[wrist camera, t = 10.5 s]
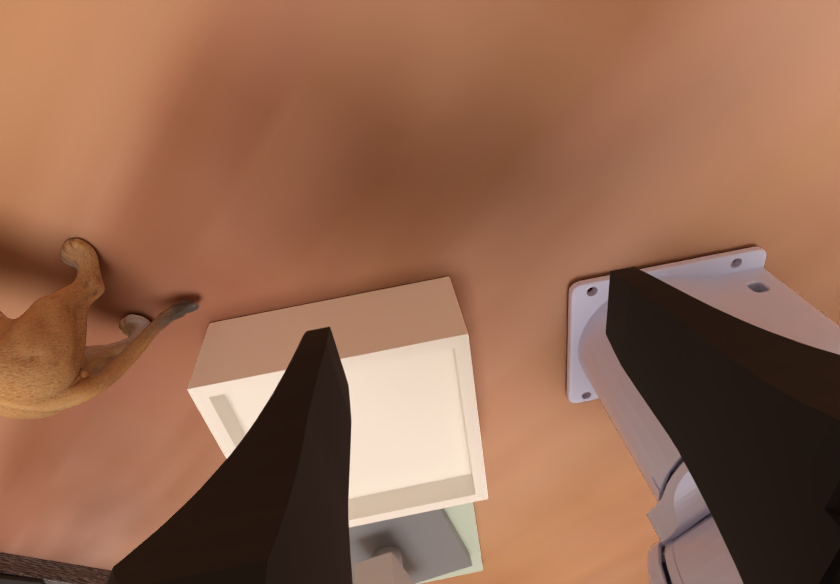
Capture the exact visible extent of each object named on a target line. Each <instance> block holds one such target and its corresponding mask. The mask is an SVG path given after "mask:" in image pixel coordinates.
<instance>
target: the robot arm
mask: <svg viewBox="0 0 840 584" xmlns="http://www.w3.org/2000/svg"><path fill="white" fill-rule="evenodd" d="M766 256H767V253H766V251H765V250H763V249H762V248H760V247H750V248H745V249H740V250H735V251H730V252H725V253H719V254H714V255H709V256H704V257H699V258H694V259H689V260H684V261H679V262H674V263H669V264H663V265H658V266H653V267H648V268H643V269H637V268H635V267H630V268H625V269H620V270H615V271H610V275H607V276H602V277H597V278H592V279H587V280H582V281H578V282H575V283H574V284H573V285H572V286H571V287H570V289H569V301H568V347H567V393H566V395H567V398H568V400H569V401H570V402H571V403H580V402H585V401H590V400H595V399H600V401H601V403H602V405H603V406H604V408H605V410H606V412H607V413H608V415H609V417H610V419H611V420H612V422H613V424H614V426H615V427H616V429H617V431H618V433H619V434H620V436H621V438H622V440H623V442H624V443H625V445H626V447H627V449H628V450H629V452H630V454H631V456H632V457H633V459H634V461H635V463H636V464H637V466H638V468H639V470H640V472H641V473H642V475H643V477H644V479H645V480H646V482H647V484H648V486H649V487H650V489H651V491H652V493H653V494H654V496H655V498H656V500H657V501H658V503H657V505H656V506H655V507H654V508H652V509H651V510H650V511H649V512H648V513H647V516H648V518H649V520H650V522H651V524H652V526H653V527H654V529H655V531H656V533H657V535H658V537H659V539H660V540H659V541H658V542H656V543H655V544H653V545H652V547H651V548H650V550H649V552H648V559H647V564H648V574H649V584H840V326H838V325H837V324H836V323H835V322H833V321H832V320H831V319H829V318H828V317H827V316H826V315H824V314H823V313H822V312H820V311H819V310H818V309H816V308H815V307H814V306H813V305H811V304H810V303H809V302H807V301H806V300H805V299H803V298H802V297H801V296H800V295H798V294H797V293H796V292H794V291H793V290H792V289H790V288H789V287H788V286H787V285H785V284H784V283H783V282H781V281H780V280H779V279H778V278H776V277H775V276H774V275H772V274H771V273H770V272H768V271H767V270H766V269H765V268H763V267H764V264H765V260H766ZM735 259H736V260H735ZM734 260H735V261H734ZM733 261H734V262H733ZM732 262H733V263H732ZM591 287H594V288H593V289H592V290H591V291H589V292H587V290H588V289H589V288H591ZM350 448H351V408H350V396H349V385H348V382H347V378H346V375H345V372H344V369H343V366H342V363H341V359H340V356H339V353H338V350H337V347H336V344H335V340H334V337H333V334H332V331H331V328H330V327H325V328H320V329H315V330H310V331H306V332H305V334H304V335H303V337H302V339H301V341H300V343H299V345H298V347H297V349H296V351H295V353H294V355H293V357H292V359H291V361H290V363H289V365H288V367H287V369H286V371H285V372H284V374H283V376H282V378H281V380H280V381H279V383H278V385H277V387H276V389H275V390H274V392H273V394H272V395H271V397H270V399H269V400H268V402H267V403H266V405H265V407H264V408H263V410H262V411H261V413H260V414H259V416H258V418H257V419H256V421H255V422H254V424H253V425H252V426H251V428H250V429H249V431H248V432H247V434H246V435H245V436H244V438H243V439H242V440H241V442H240V443H239V444H238V446H237V447H236V448H235V449H234V451H233V452H232V453H231V455H230V456H229V457H228V458H227V459H226V461H225V462H224V463H223V464H222V465H221V466H220V467H219V469H218V470H217V471H216V472H215V473H214V474H213V475H212V476H211V478H210V479H209V480H208V481H207V482H206V483H205V484H204V485H203V486H202V488H201V489H200V490H199V491H198V492H197V493H196V494H195V495H194V496H193V497H192V498H191V499H190V500H189V501H188V502H187V503H186V504H185V505H184V506H183V507H182V508H181V509H180V510H179V511H177V512H176V513H175V514H174V515H173V516H172V517H171V518H170V519H169V520H168V521H167V522H166V523H165V524H164V525H162V526H161V527H160V528H159V529H158V530H157V531H156V532H155V533H153V534H152V535H151V536H150V537H149V538H148V539H146V540H145V541H144V542H143V543H142V544H140V545H139V546H138V547H137V548H136V549H134V550H133V551H132V552H131V553H130V554H129V555H127V556H126V557H125V558H124V559H123V560H121V561H120V562H119V563H118V564H116V565H115V566H114V567H113V569H112V571H111V574H110V576H109V578H108V580H107V583H106V584H353V582H352V568H351V554H350V537H349V520H348V496H349V472H350Z"/></svg>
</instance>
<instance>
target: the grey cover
mask: <svg viewBox="0 0 840 584" xmlns="http://www.w3.org/2000/svg"><path fill="white" fill-rule="evenodd" d="M349 537H350V554H351V568H352V582H353V584H416V583H419V582H422V581H425V580H428V579H432V578H435V577H438V576H441V575H444V574H448V573H451V572H454V571H457V570H460V569H464V568H467V567H470V566H472V561H471V557H470V553H469V552H468V550H467V548H466V547H465V545H464V543H463V541H462V540H461V538H460V536H459V534H458V533H457V531H456V529H455V527H454V526H453V524H452V522H451V521H450V519H449V517H448V515H447V514H446V512H445V510H444V508H442V509H437V510H432V511H427V512H423V513H418V514H413V515H408V516H403V517H398V518H393V519H388V520H384V521H379V522H374V523H369V524H364V525H359V526H354V527H349Z"/></svg>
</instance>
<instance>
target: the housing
mask: <svg viewBox="0 0 840 584" xmlns="http://www.w3.org/2000/svg"><path fill="white" fill-rule="evenodd" d="M325 327H330V328H331V331H332V334H333V337H334V340H335V344H336V347H337V350H338V353H339V356H340V359H341V363H342V366H343V369H344V372H345V375H346V378H347V382H348V385H349V396H350V408H351V448H350V472H349V496H348V520H349V527H354V526H359V525H364V524H369V523H374V522H379V521H384V520H388V519H393V518H398V517H403V516H408V515H413V514H418V513H423V512H427V511H432V510H437V509H442V508H447V507H452V506H457V505H461V504H466V503H471V502H476V501H481V500H486V499H488V493H487V484H486V476H485V468H484V460H483V451H482V443H481V435H480V426H479V418H478V410H477V402H476V393H475V385H474V377H473V369H472V360H471V352H470V344H469V335H468V331H467V328H466V325H465V322H464V319H463V316H462V313H461V310H460V307H459V304H458V301H457V298H456V295H455V292H454V289H453V286H452V283H451V280H450V276H448V277H443V278H438V279H433V280H428V281H423V282H417V283H412V284H407V285H402V286H397V287H392V288H387V289H382V290H376V291H371V292H366V293H361V294H356V295H351V296H346V297H341V298H335V299H330V300H325V301H320V302H315V303H310V304H305V305H300V306H294V307H289V308H284V309H279V310H274V311H269V312H264V313H259V314H253V315H248V316H243V317H238V318H233V319H228V320H223V321H218V322H212V323H209V326H208V329H207V332H206V335H205V338H204V341H203V344H202V347H201V350H200V353H199V355H198V358H197V361H196V364H195V367H194V370H193V373H192V376H191V379H190V382H189V385H188V388H187V390H188V392H189V394H190V396H191V397H192V399H193V401H194V403H195V404H196V406H197V408H198V410H199V411H200V413H201V415H202V417H203V418H204V420H205V422H206V424H207V425H208V427H209V429H210V431H211V432H212V434H213V436H214V438H215V439H216V441H217V443H218V445H219V446H220V448H221V450H222V452H223V453H224V455H225V457H226V459H227V458H228V457H229V456H230V455H231V453H232V452H233V451H234V449H235V448H236V447H237V446H238V444H239V443H240V442H241V440H242V439H243V438H244V436H245V435H246V434H247V432H248V431H249V429H250V428H251V426H252V425H253V424H254V422H255V421H256V419H257V418H258V416H259V414H260V413H261V411H262V410H263V408H264V407H265V405H266V403H267V402H268V400H269V399H270V397H271V395H272V394H273V392H274V390H275V389H276V387H277V385H278V383H279V381H280V380H281V378H282V376H283V374H284V372H285V371H286V369H287V367H288V365H289V363H290V361H291V359H292V357H293V355H294V353H295V351H296V349H297V347H298V345H299V343H300V341H301V339H302V337H303V335H304V334H305V332H306V331H310V330H315V329H320V328H325Z"/></svg>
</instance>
